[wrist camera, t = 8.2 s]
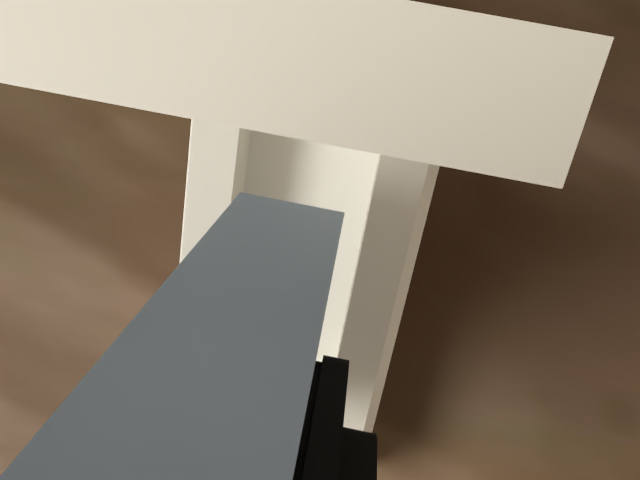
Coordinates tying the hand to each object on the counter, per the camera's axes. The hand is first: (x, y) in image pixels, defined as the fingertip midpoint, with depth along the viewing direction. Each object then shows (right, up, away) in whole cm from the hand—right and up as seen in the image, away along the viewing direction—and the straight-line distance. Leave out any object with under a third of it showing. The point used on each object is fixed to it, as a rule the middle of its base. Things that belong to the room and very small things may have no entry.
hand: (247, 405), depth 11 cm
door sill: (+1, +3, +6) cm, 7 cm away
